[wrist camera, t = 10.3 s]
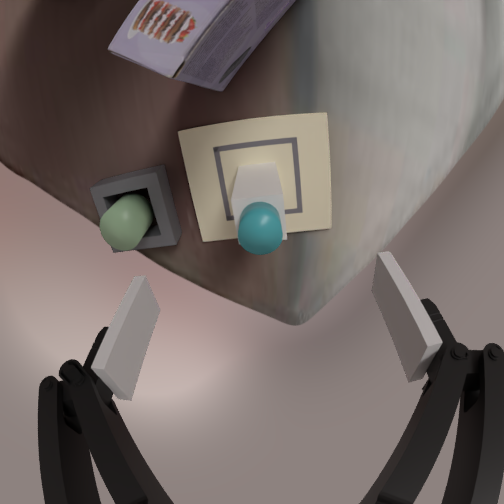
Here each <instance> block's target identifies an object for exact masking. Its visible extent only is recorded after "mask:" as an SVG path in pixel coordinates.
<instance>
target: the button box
mask: <svg viewBox="0 0 504 504" xmlns="http://www.w3.org/2000/svg"><path fill="white" fill-rule="evenodd" d="M142 188H147V189H148V193H149V196H150V200H151V203H152V207H153V210H154V213H155V217H156V220H157V223H158V225H155V226H150V227H149V228H148V230H147V231H146V232H145V234H144V235H143V237H142V238H141V240H140V242H139V243H138V245H137V246H136V247H135V248H133V249H131V250H138V249H146V248H154V247H162V246H170V245H177V242H178V240H179V238H180V236H181V234H182V230H181V227H180V223H179V219H178V216H177V212H176V208H175V205H174V201H173V197H172V193H171V189H170V185H169V181H168V177H167V173H166V169H165V165H160V166H155V167H150V168H146V169H142V170H137V171H133V172H129V173H125V174H121V175H117V176H114V177H110V178H106V179H102V180H100V181H99V182H98V183H96V184H95V185H94V186H92V187H91V188H90V191H91V194H92V197H93V200H94V203H95V206H96V208H97V211H98V214H99V217H100V220H101V218H102V216H103V214H104V213H105V212H106V211H107V210H108V209H109V208H111V207H112V206H113V205H114V204H115V203H116V202H117V201H118V200H117V197H116V194H119V193H124V192H128V191H133V190H138V189H142ZM111 248H112V250H113V252H123V251H122V250H118V249H115V248H113V247H112V246H111ZM127 251H130V250H127Z"/></svg>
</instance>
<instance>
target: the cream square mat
mask: <svg viewBox="0 0 504 504" xmlns="http://www.w3.org/2000/svg"><path fill="white" fill-rule="evenodd" d="M178 135H179V140H180V145H181V150H182V154H183V159H184V164H185V168H186V173H187V177H188V182H189V186H190V190H191V195H192V199H193V203H194V207H195V212H196V216H197V220H198V224H199V228H200V232H201V236H202V240H203V242H207V241H216V240H225V239H234V238H238V237H237V231H236V226H235V220H234V215H233V209H232V204H231V197H232V193H233V188H234V184H235V180H236V175H237V171H238V167H239V166H243V165H251V164H259V163H268V162H275V163H276V167H277V171H278V175H279V179H280V183H281V187H282V192H283V199H284V209H285V220H286V232H287V233H289V232H299V231H309V230H319V229H329V228H331V173H330V151H329V134H328V120H327V113H306V114H292V115H280V116H270V117H260V118H252V119H244V120H237V121H230V122H224V123H218V124H212V125H206V126H201V127H196V128H191V129H186V130H181V131H178Z"/></svg>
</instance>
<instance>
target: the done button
mask: <svg viewBox="0 0 504 504" xmlns="http://www.w3.org/2000/svg"><path fill="white" fill-rule="evenodd" d="M153 218H154V211H153V208H152V205H151V204H150V202H149V201H148V200H147V199H146V198H145V197H144V196H142V195H140V194H137V193H128V194H125V195H123V196H122V197H121V198H120V199H119V200H118V201H117V202H116V203H115V204H114V205H113V206H112V207H111V208H109V209H108V210H107V211H106V212H105V213H104V214H103V216H102V218H101V220H100V231H101V234H102V236H103V238H104V239H105V241H106V242H107V243H108V244H109V245H110V246H112V247H113V248H115V249H118V250H122V251H127V250H131V249H133V248H135V247H136V246H137V245H138V243H139V242H140V240H141V238H142V237H143V235H144V234H145V232H146V231H147V230H148V228H149V227H150V225H151V224H152V222H153Z"/></svg>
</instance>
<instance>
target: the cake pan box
mask: <svg viewBox="0 0 504 504" xmlns="http://www.w3.org/2000/svg"><path fill="white" fill-rule="evenodd" d="M295 1H296V0H139V1H138V2H137V4H136V5H135V7H134V8H133V9H132V11H131V12H130V14H129V15H128V17H127V18H126V20H125V21H124V23H123V24H122V26H121V27H120V29H119V30H118V32H117V34H116V35H115V37H114V38H113V40H112V42H111V43H110V45H109V47H108V50H109V52H110V53H112V54H114V55H117V56H119V57H121V58H124V59H126V60H129V61H131V62H133V63H136V64H138V65H140V66H143V67H145V68H148V69H150V70H152V71H154V72H156V73H159V74H161V75H163V76H166V77H168V78H171V79H175V80H179V81H183V82H187V83H191V84H195V85H197V86H200V87H204V88H208V89H212V90H215V91H223V90H224V89H225V88H226V86H227V85H228V84H229V82H230V81H231V79H232V78H233V76H234V75H235V74H236V72H237V71H238V70H239V68H240V67H241V66H242V64H243V63H244V62H245V61H246V59H247V58H248V57H249V56H250V54H251V53H252V52H253V51H254V49H255V48H256V47H257V45H258V44H259V43H260V42H261V41H262V40H263V38H264V37H265V36H266V35H267V34H268V32H269V31H270V30H271V29H272V27H273V26H274V25H275V24H276V23H277V22H278V21H279V20H280V18H281V17H282V16H283V15H284V14H285V12H286V11H287V10H288V9H289V8H290V7H291V6H292V4H293V3H294V2H295Z"/></svg>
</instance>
